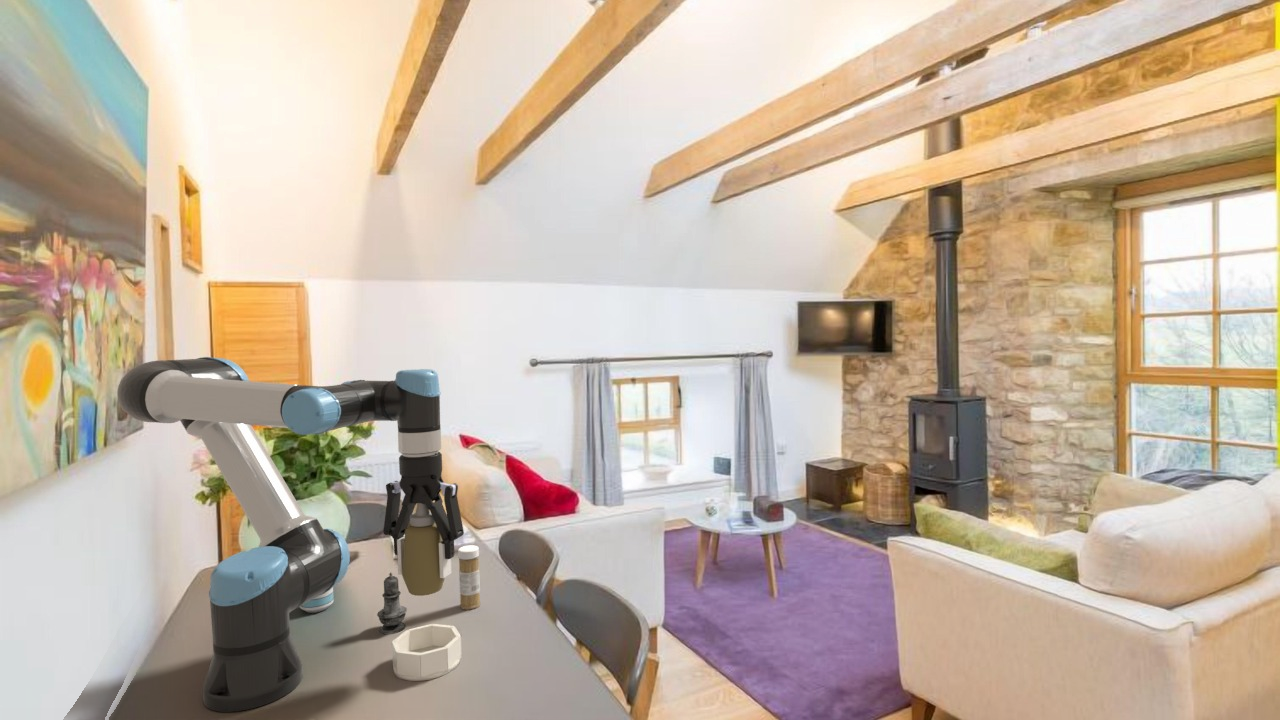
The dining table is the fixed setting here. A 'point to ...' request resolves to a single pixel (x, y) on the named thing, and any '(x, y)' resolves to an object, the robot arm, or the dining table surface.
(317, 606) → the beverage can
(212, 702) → the robot arm
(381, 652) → the dining table surface
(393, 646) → the crock
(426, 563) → the squeeze bottle
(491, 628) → the dining table surface
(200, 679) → the dining table surface
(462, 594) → the sprinkles bottle
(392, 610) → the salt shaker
